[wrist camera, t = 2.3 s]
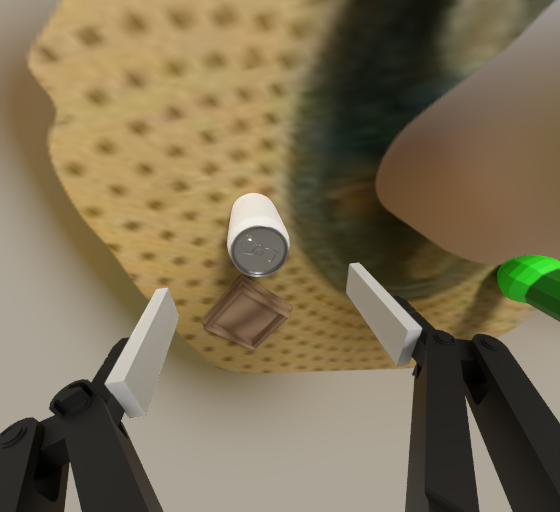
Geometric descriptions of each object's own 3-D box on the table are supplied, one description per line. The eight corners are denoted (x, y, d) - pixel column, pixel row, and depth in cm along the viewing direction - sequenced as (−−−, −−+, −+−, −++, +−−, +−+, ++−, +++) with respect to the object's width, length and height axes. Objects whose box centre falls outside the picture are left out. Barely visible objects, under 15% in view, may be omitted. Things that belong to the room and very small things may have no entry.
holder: (202, 318, 39) (199, 329, 37) (242, 274, 36) (242, 283, 34) (252, 342, 44) (253, 352, 42) (291, 305, 41) (294, 314, 39)
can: (244, 182, 29) (246, 208, 19) (284, 206, 32) (305, 240, 21) (223, 223, 31) (214, 265, 21) (262, 242, 34) (271, 289, 23)
